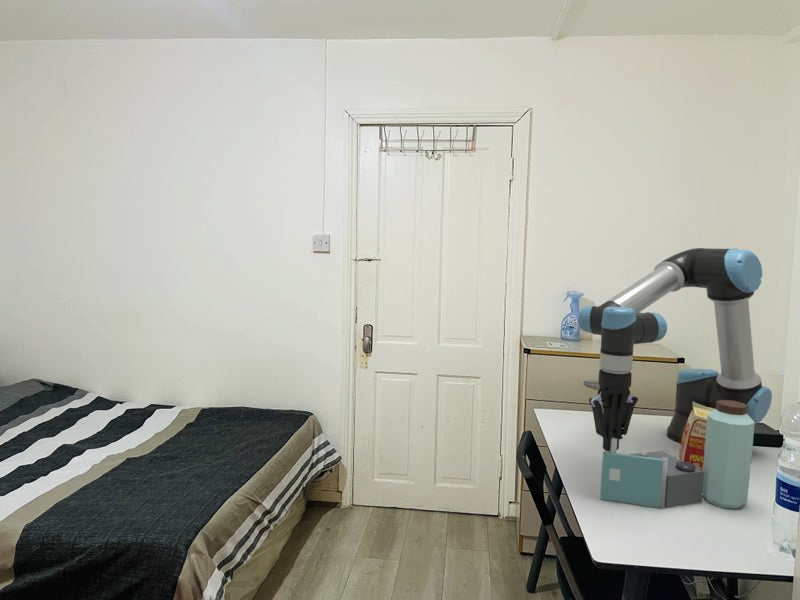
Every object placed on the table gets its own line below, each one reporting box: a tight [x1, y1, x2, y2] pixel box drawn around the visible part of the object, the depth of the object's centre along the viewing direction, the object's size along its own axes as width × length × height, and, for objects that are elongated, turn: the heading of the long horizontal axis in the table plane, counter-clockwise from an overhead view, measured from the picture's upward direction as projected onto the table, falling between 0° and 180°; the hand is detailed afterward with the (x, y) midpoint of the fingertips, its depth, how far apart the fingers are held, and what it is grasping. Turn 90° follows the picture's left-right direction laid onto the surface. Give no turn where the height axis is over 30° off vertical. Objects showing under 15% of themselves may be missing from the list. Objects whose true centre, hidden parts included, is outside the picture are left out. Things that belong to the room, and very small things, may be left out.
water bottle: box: [702, 400, 756, 510], centre depth 138 cm, size 10×10×25 cm
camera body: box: [628, 450, 704, 508], centre depth 143 cm, size 11×14×9 cm
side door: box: [599, 451, 668, 509], centre depth 136 cm, size 15×2×12 cm, turn 74°
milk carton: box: [678, 402, 714, 471], centre depth 156 cm, size 9×9×20 cm
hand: (609, 462), depth 140 cm, fingers closed
